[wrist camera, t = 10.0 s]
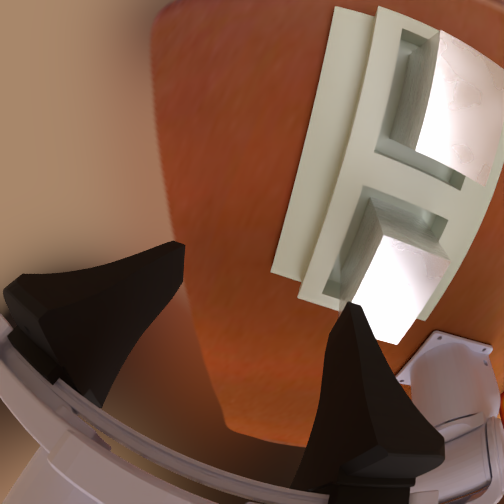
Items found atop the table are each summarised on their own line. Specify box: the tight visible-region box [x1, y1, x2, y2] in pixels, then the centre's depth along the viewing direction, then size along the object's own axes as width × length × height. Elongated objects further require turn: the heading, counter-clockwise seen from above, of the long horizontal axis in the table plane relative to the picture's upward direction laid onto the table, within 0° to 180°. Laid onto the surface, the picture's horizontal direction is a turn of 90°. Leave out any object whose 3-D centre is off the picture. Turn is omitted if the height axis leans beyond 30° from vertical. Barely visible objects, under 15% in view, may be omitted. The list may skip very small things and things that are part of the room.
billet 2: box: [338, 197, 451, 345], centre depth 15 cm, size 4×6×6 cm, turn 168°
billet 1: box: [389, 30, 504, 187], centre depth 10 cm, size 4×6×6 cm, turn 168°
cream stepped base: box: [271, 6, 504, 321], centre depth 14 cm, size 14×20×3 cm
